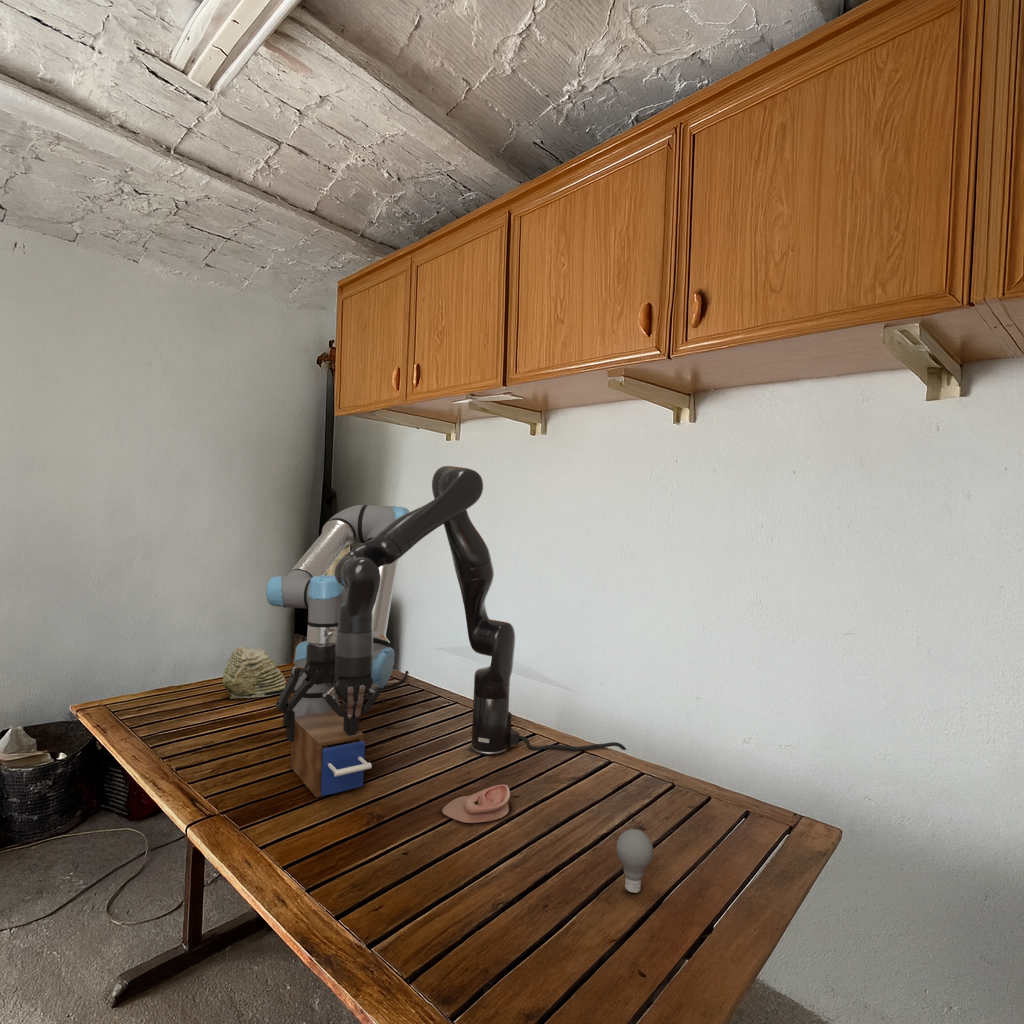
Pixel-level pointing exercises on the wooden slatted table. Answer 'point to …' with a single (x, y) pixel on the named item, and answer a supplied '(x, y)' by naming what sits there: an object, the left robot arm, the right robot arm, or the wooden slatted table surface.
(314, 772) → the cabinet
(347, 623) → the right robot arm
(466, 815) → the anatomical model
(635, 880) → the light bulb
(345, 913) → the wooden slatted table surface
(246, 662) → the fossil
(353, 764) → the drawer
